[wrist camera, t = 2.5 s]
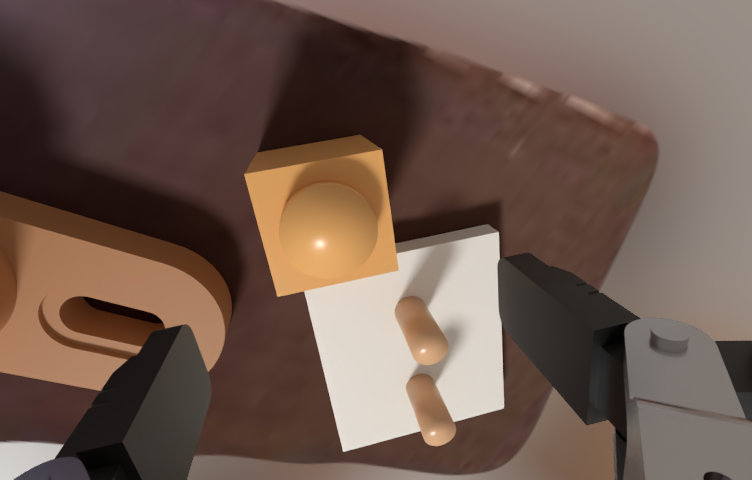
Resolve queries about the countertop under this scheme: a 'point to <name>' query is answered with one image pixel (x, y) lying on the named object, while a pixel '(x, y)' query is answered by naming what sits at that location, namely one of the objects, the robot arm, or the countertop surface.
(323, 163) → the cube with dome top
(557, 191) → the countertop surface
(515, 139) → the countertop surface
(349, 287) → the plate
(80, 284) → the bracket
